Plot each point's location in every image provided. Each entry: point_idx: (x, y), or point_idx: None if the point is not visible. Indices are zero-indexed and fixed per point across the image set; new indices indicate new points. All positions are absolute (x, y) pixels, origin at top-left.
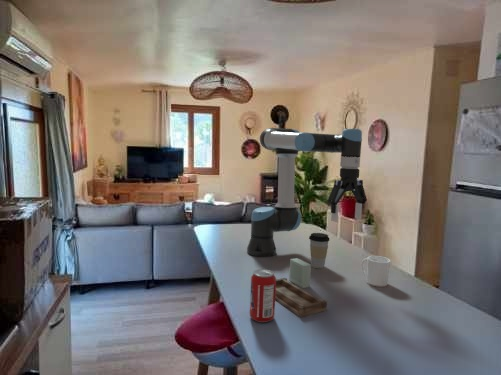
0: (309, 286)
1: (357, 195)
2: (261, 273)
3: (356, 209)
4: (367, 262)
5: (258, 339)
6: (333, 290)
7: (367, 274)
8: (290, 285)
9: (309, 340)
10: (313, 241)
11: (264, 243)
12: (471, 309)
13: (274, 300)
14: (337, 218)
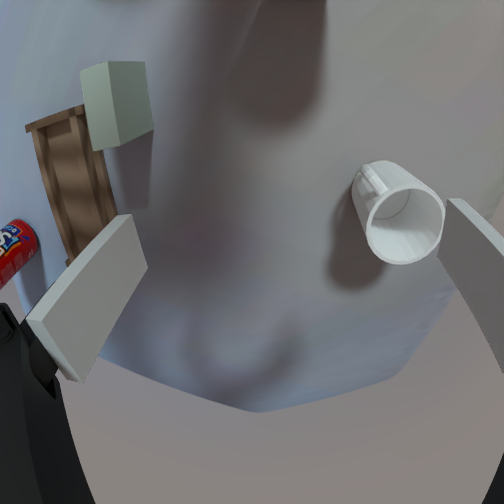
0: (152, 129)
1: (495, 487)
2: None
3: (490, 264)
4: (372, 195)
5: (23, 279)
6: (206, 177)
7: (361, 182)
8: (78, 156)
9: None
10: None
11: None
12: (409, 351)
13: (18, 270)
14: (136, 285)
